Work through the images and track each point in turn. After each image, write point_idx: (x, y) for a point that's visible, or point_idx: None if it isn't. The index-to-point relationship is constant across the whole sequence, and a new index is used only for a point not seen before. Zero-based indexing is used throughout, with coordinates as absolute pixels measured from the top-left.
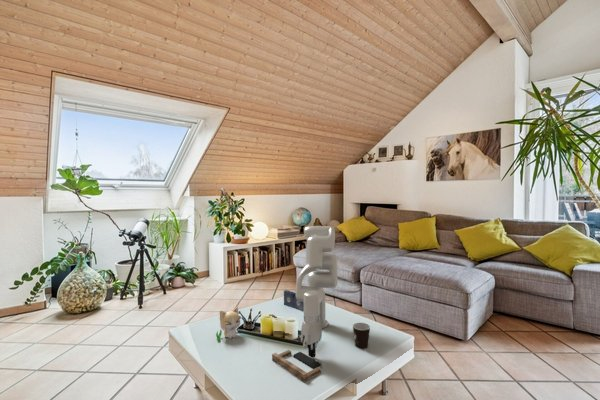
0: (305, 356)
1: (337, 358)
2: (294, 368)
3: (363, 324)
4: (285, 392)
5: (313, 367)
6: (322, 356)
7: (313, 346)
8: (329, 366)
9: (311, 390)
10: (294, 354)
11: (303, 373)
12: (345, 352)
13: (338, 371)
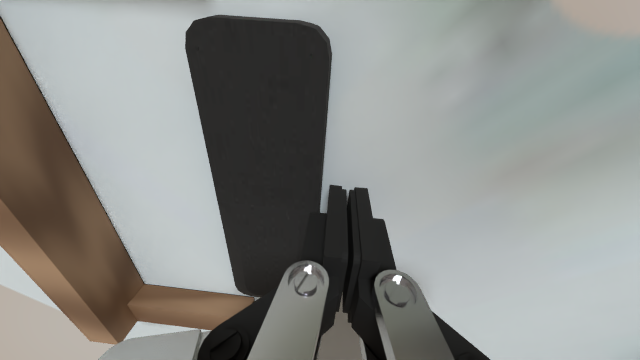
0: (293, 170)
1: (455, 317)
2: (38, 283)
3: None
4: (7, 280)
5: (238, 289)
6: (422, 248)
7: (360, 332)
8: (339, 318)
9: (138, 333)
10: (210, 24)
11: (93, 335)
12: (570, 322)
13: (333, 352)
